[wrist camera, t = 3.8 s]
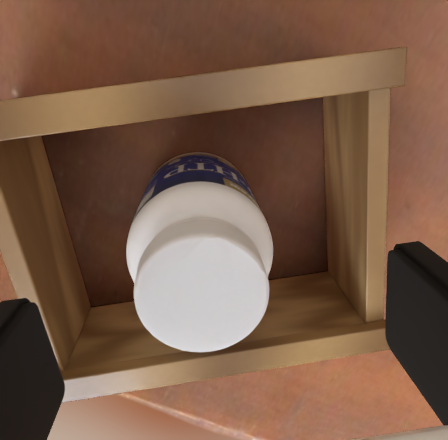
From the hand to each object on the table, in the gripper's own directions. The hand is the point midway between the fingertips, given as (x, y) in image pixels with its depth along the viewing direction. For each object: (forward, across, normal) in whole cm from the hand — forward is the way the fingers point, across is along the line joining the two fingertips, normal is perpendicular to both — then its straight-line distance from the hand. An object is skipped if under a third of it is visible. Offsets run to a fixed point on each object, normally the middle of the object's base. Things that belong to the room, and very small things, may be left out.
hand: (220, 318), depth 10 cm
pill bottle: (+10, 0, 0) cm, 10 cm away
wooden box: (+10, 0, 0) cm, 10 cm away
